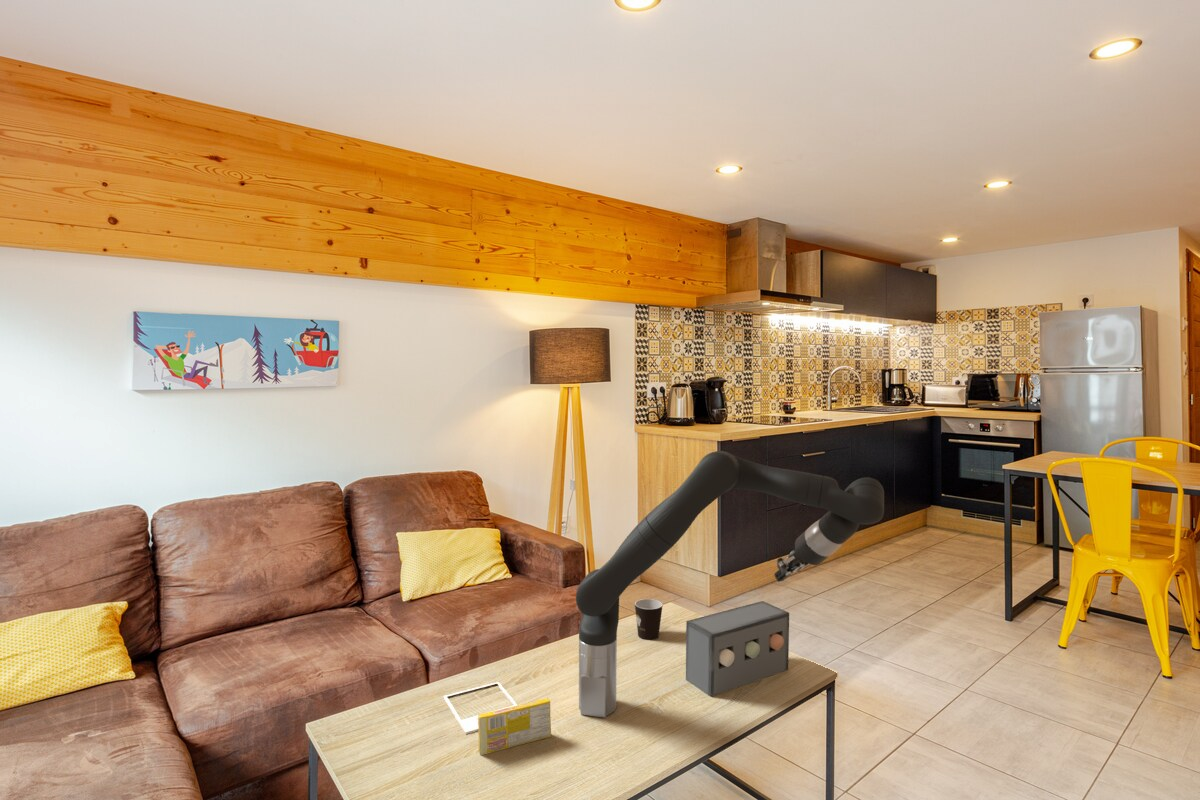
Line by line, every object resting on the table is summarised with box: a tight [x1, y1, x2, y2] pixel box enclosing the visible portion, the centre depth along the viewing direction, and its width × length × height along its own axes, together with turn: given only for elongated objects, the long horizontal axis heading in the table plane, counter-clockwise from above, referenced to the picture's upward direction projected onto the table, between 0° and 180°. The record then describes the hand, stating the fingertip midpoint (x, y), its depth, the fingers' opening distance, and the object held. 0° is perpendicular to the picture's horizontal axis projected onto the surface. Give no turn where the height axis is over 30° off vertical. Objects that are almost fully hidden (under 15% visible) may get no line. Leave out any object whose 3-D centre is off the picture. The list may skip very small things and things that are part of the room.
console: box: [685, 600, 790, 697], centre depth 169 cm, size 10×28×16 cm, turn 121°
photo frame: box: [443, 681, 518, 735], centre depth 153 cm, size 15×1×18 cm
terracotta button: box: [769, 633, 784, 650], centre depth 172 cm, size 7×4×4 cm, turn 31°
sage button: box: [745, 640, 760, 658], centre depth 167 cm, size 7×4×4 cm, turn 31°
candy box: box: [477, 697, 552, 756], centre depth 138 cm, size 16×2×8 cm, turn 115°
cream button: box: [719, 648, 734, 667], centre depth 162 cm, size 7×4×4 cm, turn 31°
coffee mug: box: [634, 598, 664, 641], centre depth 195 cm, size 12×9×10 cm
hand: (778, 577), depth 155 cm, fingers closed
